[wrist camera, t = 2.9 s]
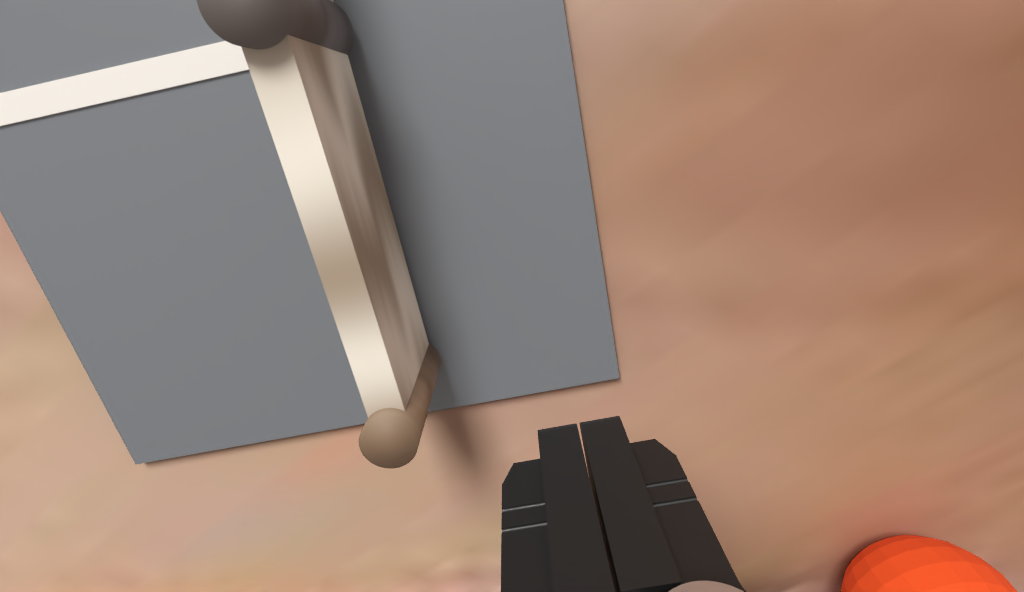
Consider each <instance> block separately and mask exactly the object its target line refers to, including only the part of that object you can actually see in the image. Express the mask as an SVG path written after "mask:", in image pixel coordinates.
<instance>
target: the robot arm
mask: <svg viewBox="0 0 1024 592" xmlns="http://www.w3.org/2000/svg"><path fill="white" fill-rule="evenodd" d="M580 428H581V434H582V440H583V446H584V451H585V457H586V463H587V467H586V463H585V458H584V454H583V450H582V445H581V441H580V436H579V432H578V428H577V424H570V425H565V426H559V427H553V428H547V429H542V430H538V439H539V449H540V459H536V460H530V461H524V462H518V463H514V464H513V466H512V467H511V469H510V471H509V473H508V475H507V477H506V479H505V480H504V482H503V484H502V542H501V592H746V591H745V590H744V589H743V587H742V586H741V584H740V583H739V581H738V579H737V577H736V575H735V573H734V571H733V569H732V567H731V565H730V563H729V561H728V559H727V557H726V555H725V553H724V551H723V549H722V547H721V545H720V543H719V541H718V539H717V537H716V535H715V533H714V531H713V529H712V527H711V525H710V523H709V521H708V519H707V517H706V515H705V513H704V511H703V509H702V507H701V505H700V503H699V501H697V498H696V495H695V493H694V491H693V489H692V487H691V485H690V483H689V482H688V481H687V477H686V475H685V473H684V471H683V469H682V467H681V465H680V463H679V461H678V459H677V457H676V455H675V454H673V453H672V452H671V451H670V450H668V449H667V448H666V447H664V446H663V445H662V444H661V443H659V442H658V441H657V440H655V439H652V440H646V441H640V442H634V443H629V440H628V437H627V435H626V432H625V429H624V427H623V424H622V421H621V419H620V417H619V416H616V417H610V418H604V419H598V420H593V421H587V422H581V423H580ZM587 468H588V472H587ZM588 474H589V476H588Z"/></svg>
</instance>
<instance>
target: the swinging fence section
mask: <svg viewBox="0 0 1024 592" xmlns="http://www.w3.org/2000/svg"><path fill="white" fill-rule="evenodd" d="M197 4H198V7H199V10H200V12H201V15H202V17H203V18H204V20H205V22H206V23H207V25H208V26H209V27H210V28H211V29H212V31H213V32H214V33H216V34H217V35H218V36H219V37H220V38H222V39H223V40H225V41H227V42H229V43H231V44H234V45H237V46H241V47H242V50H243V53H244V56H245V59H246V62H247V65H248V68H249V71H250V74H251V77H252V79H253V82H254V85H255V88H256V91H257V94H258V97H259V100H260V103H261V106H262V109H263V112H264V115H265V117H266V120H267V123H268V126H269V129H270V132H271V135H272V138H273V141H274V144H275V147H276V150H277V153H278V155H279V158H280V161H281V164H282V167H283V170H284V173H285V176H286V179H287V182H288V185H289V188H290V191H291V194H292V196H293V199H294V202H295V205H296V208H297V211H298V214H299V217H300V220H301V223H302V226H303V229H304V232H305V234H306V237H307V240H308V243H309V246H310V249H311V252H312V255H313V258H314V261H315V264H316V267H317V270H318V273H319V275H320V278H321V281H322V284H323V287H324V290H325V293H326V296H327V299H328V302H329V305H330V308H331V311H332V313H333V316H334V319H335V322H336V325H337V328H338V331H339V334H340V337H341V340H342V343H343V346H344V349H345V351H346V354H347V357H348V360H349V363H350V366H351V369H352V372H353V375H354V378H355V381H356V384H357V387H358V390H359V392H360V395H361V398H362V401H363V404H364V407H365V410H366V413H367V416H368V418H367V421H366V423H365V425H364V427H363V429H362V431H361V434H360V437H359V447H360V450H361V452H362V454H363V455H364V456H365V458H366V459H367V460H369V461H370V462H371V463H373V464H375V465H377V466H380V467H383V468H398V467H401V466H404V465H406V464H407V463H409V462H410V461H411V460H412V459H413V458H414V456H415V455H416V452H417V449H418V445H419V442H420V438H421V434H422V431H423V427H424V423H425V420H426V416H427V413H428V409H429V405H430V402H431V398H432V394H433V391H434V387H435V384H436V380H437V376H438V373H439V369H440V365H441V359H440V355H439V353H438V352H437V350H436V349H435V348H434V347H433V346H432V345H430V344H429V343H428V339H427V335H426V332H425V328H424V325H423V321H422V318H421V314H420V311H419V307H418V303H417V300H416V296H415V293H414V289H413V286H412V282H411V279H410V275H409V271H408V268H407V264H406V261H405V257H404V254H403V250H402V246H401V243H400V239H399V236H398V232H397V229H396V225H395V222H394V218H393V214H392V211H391V207H390V204H389V200H388V197H387V193H386V190H385V186H384V182H383V179H382V175H381V172H380V168H379V165H378V161H377V158H376V154H375V150H374V147H373V143H372V140H371V136H370V133H369V129H368V125H367V122H366V118H365V115H364V111H363V108H362V104H361V101H360V97H359V93H358V90H357V86H356V83H355V79H354V76H353V72H352V69H351V65H350V61H349V58H348V54H349V52H350V50H351V48H352V44H353V28H352V25H351V22H350V20H349V18H348V16H347V14H346V13H345V12H344V10H343V9H342V8H341V7H339V6H338V5H337V4H335V3H334V2H332V1H330V0H197Z"/></svg>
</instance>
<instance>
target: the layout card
mask: <svg viewBox="0 0 1024 592" xmlns="http://www.w3.org/2000/svg"><path fill="white" fill-rule="evenodd" d="M330 1H332V2H334V3H335V4H337V5H338V6H339V7H341V8H342V9H343V10H344V12H345V13H346V14H347V16H348V18H349V20H350V22H351V25H352V28H353V44H352V48H351V50H350V52H349V54H348V58H349V61H350V65H351V69H352V72H353V76H354V79H355V83H356V86H357V90H358V93H359V97H360V101H361V104H362V108H363V111H364V115H365V118H366V122H367V125H368V129H369V133H370V136H371V140H372V143H373V147H374V150H375V154H376V158H377V161H378V165H379V168H380V172H381V175H382V179H383V182H384V186H385V190H386V193H387V197H388V200H389V204H390V207H391V211H392V214H393V218H394V222H395V225H396V229H397V232H398V236H399V239H400V243H401V246H402V250H403V254H404V257H405V261H406V264H407V268H408V271H409V275H410V279H411V282H412V286H413V289H414V293H415V296H416V300H417V303H418V307H419V311H420V314H421V318H422V321H423V325H424V328H425V332H426V335H427V339H428V343H429V344H430V345H432V346H433V347H434V348H435V349H436V350H437V352H438V353H439V355H440V359H441V365H440V369H439V373H438V376H437V380H436V384H435V387H434V391H433V394H432V398H431V402H430V405H429V409H428V412H433V411H438V410H444V409H449V408H455V407H461V406H466V405H472V404H478V403H483V402H489V401H494V400H500V399H506V398H511V397H517V396H522V395H528V394H534V393H539V392H545V391H550V390H556V389H562V388H567V387H573V386H578V385H584V384H590V383H595V382H601V381H607V380H612V379H618V378H620V377H619V370H618V364H617V357H616V350H615V344H614V337H613V330H612V324H611V317H610V310H609V303H608V297H607V290H606V283H605V277H604V270H603V263H602V257H601V250H600V243H599V237H598V230H597V223H596V216H595V210H594V203H593V196H592V190H591V183H590V176H589V170H588V163H587V156H586V150H585V143H584V136H583V129H582V123H581V116H580V109H579V103H578V96H577V89H576V83H575V76H574V69H573V63H572V56H571V49H570V43H569V36H568V29H567V22H566V16H565V9H564V2H563V0H330ZM0 211H1V213H2V215H3V217H4V219H5V221H6V222H7V224H8V226H9V228H10V230H11V232H12V234H13V236H14V237H15V239H16V241H17V243H18V245H19V247H20V249H21V251H22V252H23V254H24V256H25V258H26V260H27V262H28V264H29V265H30V267H31V269H32V271H33V273H34V275H35V277H36V279H37V280H38V282H39V284H40V286H41V288H42V290H43V292H44V294H45V295H46V297H47V299H48V301H49V303H50V305H51V307H52V309H53V310H54V312H55V314H56V316H57V318H58V320H59V322H60V324H61V325H62V327H63V329H64V331H65V333H66V335H67V337H68V339H69V340H70V342H71V344H72V346H73V348H74V350H75V352H76V353H77V355H78V357H79V359H80V361H81V363H82V365H83V367H84V368H85V370H86V372H87V374H88V376H89V378H90V380H91V382H92V383H93V385H94V387H95V389H96V391H97V393H98V395H99V397H100V398H101V400H102V402H103V404H104V406H105V408H106V410H107V412H108V413H109V415H110V417H111V419H112V421H113V423H114V425H115V426H116V428H117V430H118V432H119V434H120V436H121V438H122V440H123V441H124V443H125V445H126V447H127V449H128V451H129V453H130V455H131V456H132V458H133V460H134V462H135V464H141V463H147V462H152V461H158V460H163V459H169V458H175V457H180V456H186V455H191V454H197V453H203V452H208V451H214V450H219V449H225V448H231V447H236V446H242V445H248V444H253V443H259V442H264V441H270V440H276V439H281V438H287V437H292V436H298V435H304V434H309V433H315V432H320V431H326V430H332V429H337V428H343V427H348V426H354V425H360V424H365V423H366V421H367V418H368V416H367V413H366V410H365V407H364V404H363V401H362V398H361V395H360V392H359V390H358V387H357V384H356V381H355V378H354V375H353V372H352V369H351V366H350V363H349V360H348V357H347V354H346V351H345V349H344V346H343V343H342V340H341V337H340V334H339V331H338V328H337V325H336V322H335V319H334V316H333V313H332V311H331V308H330V305H329V302H328V299H327V296H326V293H325V290H324V287H323V284H322V281H321V278H320V275H319V273H318V270H317V267H316V264H315V261H314V258H313V255H312V252H311V249H310V246H309V243H308V240H307V237H306V234H305V232H304V229H303V226H302V223H301V220H300V217H299V214H298V211H297V208H296V205H295V202H294V199H293V196H292V194H291V191H290V188H289V185H288V182H287V179H286V176H285V173H284V170H283V167H282V164H281V161H280V158H279V155H278V153H277V150H276V147H275V144H274V141H273V138H272V135H271V132H270V129H269V126H268V123H267V120H266V117H265V115H264V112H263V109H262V106H261V103H260V100H259V97H258V94H257V91H256V88H255V85H254V82H253V79H252V77H251V74H250V71H249V68H248V65H247V62H246V59H245V56H244V53H243V50H242V47H241V46H237V45H234V44H231V43H229V42H227V41H225V40H223V39H222V38H220V37H219V36H218V35H217V34H216V33H214V32H213V31H212V29H211V28H210V27H209V26H208V25H207V23H206V22H205V20H204V18H203V17H202V15H201V12H200V10H199V7H198V4H197V0H0Z"/></svg>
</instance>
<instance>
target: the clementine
mask: <svg viewBox="0 0 1024 592" xmlns="http://www.w3.org/2000/svg"><path fill="white" fill-rule="evenodd" d="M841 592H1017V591H1016V590H1015V589H1014V587H1013V586H1012V585H1011V584H1010V583H1009V582H1008V581H1007V579H1006V578H1005V577H1004V576H1003V575H1002V574H1001V573H1000V572H998V571H997V570H996V569H994V568H993V567H992V566H990V565H989V564H988V563H986V562H985V561H984V560H982V559H981V558H979V557H977V556H976V555H974V554H972V553H970V552H968V551H966V550H964V549H962V548H960V547H958V546H955V545H953V544H951V543H949V542H946V541H942V540H938V539H933V538H928V537H922V536H916V535H900V536H895V537H890V538H886V539H883V540H880V541H878V542H875V543H873V544H871V545H869V546H868V547H866V548H865V549H863V550H862V551H861V552H860V553H859V554H858V555H857V556H856V557H855V558H854V559H853V560H852V561H851V562H850V564H849V566H848V567H847V569H846V571H845V574H844V578H843V582H842V587H841Z"/></svg>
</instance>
